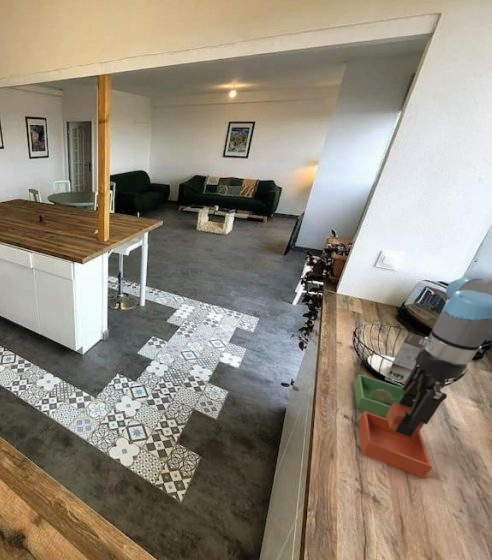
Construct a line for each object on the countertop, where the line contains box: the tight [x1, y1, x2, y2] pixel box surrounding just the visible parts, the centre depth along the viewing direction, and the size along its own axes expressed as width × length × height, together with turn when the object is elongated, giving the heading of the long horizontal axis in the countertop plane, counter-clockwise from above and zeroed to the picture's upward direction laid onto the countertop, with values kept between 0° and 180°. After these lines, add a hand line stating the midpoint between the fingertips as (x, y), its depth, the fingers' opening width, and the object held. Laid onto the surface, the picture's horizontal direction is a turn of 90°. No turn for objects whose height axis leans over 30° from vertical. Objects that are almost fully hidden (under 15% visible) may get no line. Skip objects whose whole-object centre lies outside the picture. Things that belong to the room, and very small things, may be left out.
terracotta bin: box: [358, 411, 433, 479], centre depth 84 cm, size 12×12×4 cm
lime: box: [372, 389, 394, 406], centre depth 97 cm, size 4×5×5 cm
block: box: [386, 402, 425, 438], centre depth 80 cm, size 5×5×5 cm
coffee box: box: [384, 332, 426, 387], centre depth 105 cm, size 9×6×16 cm
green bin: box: [353, 373, 404, 419], centre depth 97 cm, size 12×12×4 cm
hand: (401, 425), depth 81 cm, fingers closed on block, 5 cm apart
